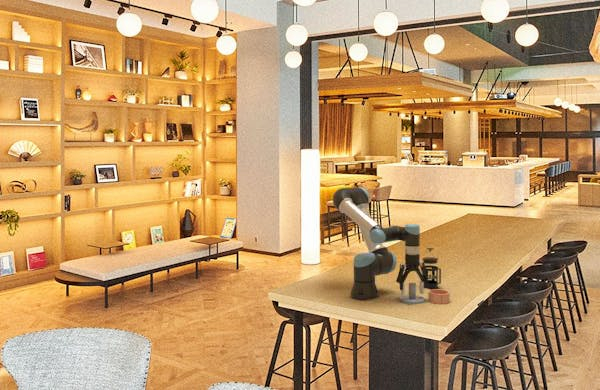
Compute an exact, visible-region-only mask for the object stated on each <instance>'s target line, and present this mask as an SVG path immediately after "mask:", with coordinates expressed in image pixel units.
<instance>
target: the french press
mask: <svg viewBox="0 0 600 390" xmlns="http://www.w3.org/2000/svg"><path fill="white" fill-rule="evenodd" d="M426 250H428V251H429V254H431V252H432V250H434V248H433V247H427V248H426ZM438 260H439V258H438V257H432V256H429V257H428V256H427V257H423V258H422V262H423V263H425V264H427V265H425V270H426V273H427V276H428V280H426V282H425V287H424V289H429V290H433V289H439V285H440V284H442V268H439V267H438V266H437V265H436V264H438ZM428 264H429V265H428ZM434 264H435V265H434ZM429 272H431V273H429ZM421 274H422V273H421ZM422 275H423V274H422Z"/></svg>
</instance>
